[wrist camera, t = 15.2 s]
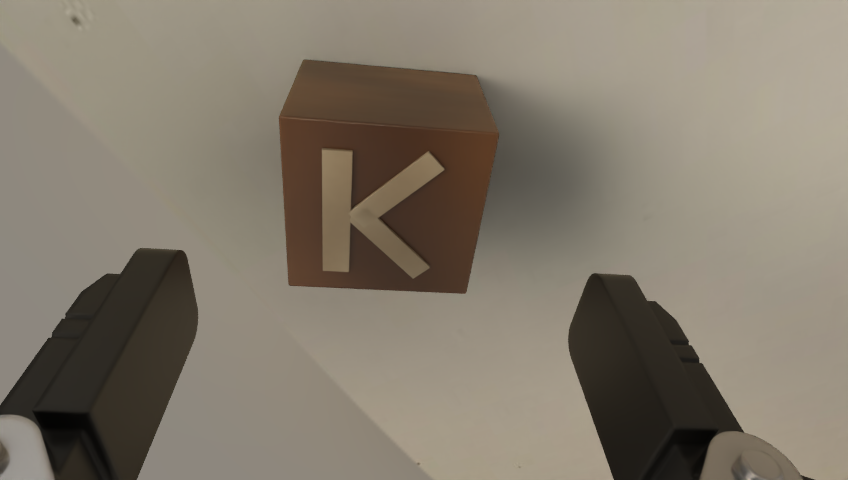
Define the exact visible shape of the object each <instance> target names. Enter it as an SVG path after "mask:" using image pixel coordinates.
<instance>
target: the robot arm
mask: <svg viewBox="0 0 848 480" xmlns="http://www.w3.org/2000/svg"><path fill="white" fill-rule="evenodd" d="M197 325H198V308H197V303H196V298H195V293H194V288H193V283H192V279H191V274H190V269H189V264H188V260H187V256H186V254H185V252H184V251H182V250H169V249H151V248H140V249H138V250H137V251H136V252H135V253H134V254H133V256H132V258H131V259H130V261H129V262H128V263H127V265H126V266H125V268H124V270H123V271H122V273H121V274H106V275H104V276H103V277H101V278H100V279H99V280H97V281H96V282H95V283H93V284H92V285H91V286H89V287H88V288H86V289H85V290H83V291H82V292H81V293H80V295H79V296H78V297H77V299H76V300H75V302H74V303H73V304H72V306H71V307H70V309H69V310H68V311H67V313H66V317H65V319H62V320H61V321H60V323H59V324H58V325H57V327H56V328H55V330H54V331H53V332H52V337H51V338H48V339H47V341H46V342H45V344H44V345H43V346H42V348H41V349H40V351H39V352H38V353H37V355H36V356H35V357H34V359H33V360H32V362H31V363H30V365H29V366H28V367H27V369H26V370H25V372H24V373H23V374H22V376H21V377H20V379H19V380H18V381H17V383H16V384H15V385H14V387H13V388H12V390H11V391H10V392H9V394H8V395H7V397H6V398H5V399H4V401H3V402H2V404H1V405H0V480H137V478H138V475H139V473H140V470H141V468H142V465H143V463H144V461H145V458H146V456H147V453H148V451H149V448H150V446H151V444H152V441H153V439H154V436H155V434H156V431H157V429H158V427H159V424H160V422H161V419H162V417H163V414H164V412H165V410H166V407H167V405H168V402H169V400H170V398H171V395H172V393H173V390H174V388H175V385H176V383H177V380H178V378H179V375H180V373H181V371H182V368H183V366H184V364H185V361H186V359H187V356H188V354H189V351H190V349H191V347H192V344H193V342H194V339H195V335H196V331H197ZM688 342H689V341H688V339H687V337H686V336H685V334H684V332H683V331H682V329H681V328H680V326H679V324H678V323H677V321H676V320H675V319H674V318H673V317H672V316H671V315H670V314H669V313H668V312H666V311H665V310H664V309H663V308H662V307H661V306H660V305H659V304H658V303H657V302H655V301H647V300H646V298H645V296H644V294H643V293H642V291H641V289H640V287H639V286H638V284H637V282H636V280H635V279H634V278H633V277H632V276H630V275H616V274H597V273H595V274H592V275H591V276H590V277H589V279H588V280H587V283H586V285H585V288H584V291H583V293H582V296H581V299H580V301H579V304H578V306H577V309H576V312H575V314H574V317H573V320H572V322H571V325H570V329H569V336H568V344H569V352H570V356H571V359H572V362H573V364H574V367H575V370H576V373H577V376H578V379H579V381H580V384H581V387H582V390H583V393H584V396H585V399H586V401H587V404H588V407H589V410H590V413H591V416H592V418H593V421H594V424H595V427H596V430H597V433H598V436H599V438H600V441H601V444H602V447H603V450H604V453H605V456H606V458H607V461H608V464H609V467H610V470H611V473H612V475H613V478H614V480H814V479H811V478H808V477H804V476H802V475H800V473H799V472H798V470H797V469H796V467H795V466H794V465H793V464H792V462H791V461H790V460H789V459H788V458H787V457H786V456H785V455H784V454H782V453H781V452H780V451H779V450H778V449H776V448H775V447H773V446H772V445H771V444H769V443H767V442H766V441H764V440H762V439H760V438H758V437H756V436H753V435H750V434H747V433H744V431H743V430H742V428H741V427H740V425H739V423H738V422H737V420H736V418H735V417H734V415H733V413H732V412H731V410H730V409H729V407H728V405H727V404H726V402H725V400H724V399H723V397H722V395H721V394H720V392H719V390H718V389H717V387H716V385H715V384H714V382H713V380H712V379H711V377H710V375H709V374H708V372H707V370H706V369H705V367H704V366H703V364H702V363H699V357H698V356H697V354H696V352H695V351H694V349H693V347H692V346H691V345H689V344H688Z"/></svg>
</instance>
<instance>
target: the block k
mask: <svg viewBox="0 0 848 480" xmlns="http://www.w3.org/2000/svg"><path fill="white" fill-rule="evenodd" d="M279 126H280V144H281V161H282V178H283V195H284V213H285V230H286V247H287V265H288V282H289V285H290V286H308V287H330V288H352V289H373V290H395V291H417V292H439V293H461V294H465V293H466V292H467V287H468V282H469V277H470V273H471V268H472V263H473V258H474V253H475V249H476V244H477V239H478V234H479V230H480V225H481V220H482V215H483V210H484V206H485V201H486V196H487V191H488V186H489V182H490V177H491V172H492V167H493V162H494V158H495V153H496V148H497V143H498V138H499V132H498V129H497V127H496V124H495V122H494V119H493V117H492V114H491V111H490V109H489V106H488V104H487V101H486V99H485V96H484V94H483V91H482V89H481V86H480V84H479V81H478V79H477V76H476V75H466V74H455V73H444V72H433V71H422V70H411V69H400V68H390V67H379V66H368V65H357V64H346V63H335V62H324V61H313V60H303V62H302V64H301V66H300V69H299V71H298V73H297V76H296V78H295V80H294V83H293V85H292V87H291V90H290V92H289V95H288V97H287V99H286V102H285V104H284V106H283V109H282V111H281V113H280V116H279Z"/></svg>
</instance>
